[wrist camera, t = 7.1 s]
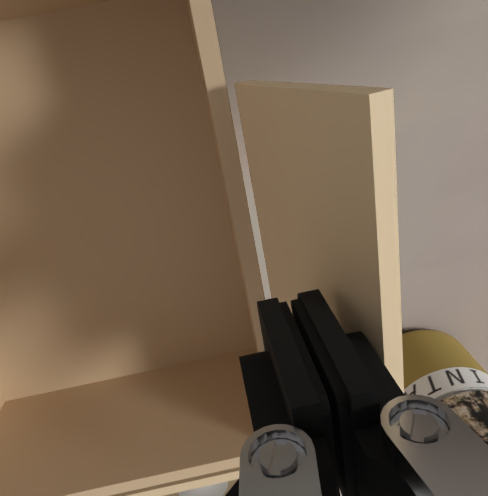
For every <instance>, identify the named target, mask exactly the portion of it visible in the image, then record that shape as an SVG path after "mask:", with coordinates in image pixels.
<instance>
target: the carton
mask: <svg viewBox="0 0 488 496" xmlns="http://www.w3.org/2000/svg"><path fill="white" fill-rule="evenodd" d="M262 300H265V297H264V291H263V286H262V280H261V275H260V269H259V264H258V258H257V253H256V247H255V242H254V236H253V231H252V225H251V220H250V214H249V208H248V203H247V197H246V192H245V186H244V181H243V175H242V170H241V164H240V159H239V153H238V148H237V142H236V137H235V131H234V125H233V120H232V114H231V109H230V103H229V98H228V92H227V87H226V81H225V76H224V70H223V65H222V59H221V54H220V48H219V42H218V37H217V31H216V26H215V20H214V15H213V9H212V4H211V0H0V496H164V495H168V494H173V493H177V492H182V491H186V490H191V489H195V488H200V487H204V486H209V485H213V484H218V483H222V482H227V481H231V480H236V479H239V468H240V454H241V449H242V446H243V444H244V443H245V441H246V440H247V438H248V437H249V436H250V435H252V434H253V433H254V431H253V426H252V421H251V416H250V411H249V406H248V401H247V396H246V391H245V386H244V381H243V376H242V371H241V366H240V361H239V356H244V355H249V354H253V353H258V352H263V351H265V350H264V344H263V338H262V332H261V326H260V320H259V314H258V308H257V301H262Z"/></svg>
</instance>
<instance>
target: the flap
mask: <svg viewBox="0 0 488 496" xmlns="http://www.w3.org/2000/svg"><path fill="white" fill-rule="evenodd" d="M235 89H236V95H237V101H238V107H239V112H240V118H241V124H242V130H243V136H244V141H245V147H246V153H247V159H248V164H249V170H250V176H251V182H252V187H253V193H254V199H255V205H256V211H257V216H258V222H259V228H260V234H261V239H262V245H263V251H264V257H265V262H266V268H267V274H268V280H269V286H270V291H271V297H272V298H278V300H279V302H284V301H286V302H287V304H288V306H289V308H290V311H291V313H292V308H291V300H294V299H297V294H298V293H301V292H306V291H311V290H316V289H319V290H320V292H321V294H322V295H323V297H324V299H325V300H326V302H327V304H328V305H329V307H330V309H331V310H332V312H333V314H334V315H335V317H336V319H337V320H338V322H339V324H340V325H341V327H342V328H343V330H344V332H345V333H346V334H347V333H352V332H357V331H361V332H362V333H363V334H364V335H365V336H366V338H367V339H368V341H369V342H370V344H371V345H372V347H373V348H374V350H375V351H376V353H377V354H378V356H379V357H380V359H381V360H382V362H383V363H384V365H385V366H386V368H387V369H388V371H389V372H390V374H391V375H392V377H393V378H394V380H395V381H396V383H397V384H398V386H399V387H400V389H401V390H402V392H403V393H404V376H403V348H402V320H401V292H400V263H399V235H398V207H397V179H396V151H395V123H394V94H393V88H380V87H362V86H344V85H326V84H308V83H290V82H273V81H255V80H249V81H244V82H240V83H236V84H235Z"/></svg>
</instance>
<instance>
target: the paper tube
mask: <svg viewBox="0 0 488 496" xmlns="http://www.w3.org/2000/svg"><path fill="white" fill-rule="evenodd" d="M402 348H403V376H404V395H423V396H428V397H432V398H434V399H436V400H438V401H441V402H442V403H444V404H445V405H446V406H448V407H449V408H450V409H452V410H453V411H454V412H455V413H456V414H457V415H458V416H459V417H460V418H461V419H462V420H463V421H464V422H465V423H466V424H467V425H468V426H469V427H470V428H471V429H472V430H473V431H474V432H475V433H476V434H477V435H478V436H479V437H480V438H481V439H482V440H484V441H487V442H488V373H487V372H486V371H485V370H484V369H483V368H482V367H481V366H480V365H479V363H478V362H477V361H476V360H475V359H474V358H473V357H472V356H471V355H470V353H469V352H468V351H467V350H466V349H465V348H464V347H463V346H462V345H461V344H460V343H459V342H458V341H457V340H456V339H455V338H453V337H452V336H450V335H448V334H446V333H443V332H440V331H435V330H414V331H410V332H406V333H403V334H402Z"/></svg>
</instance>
